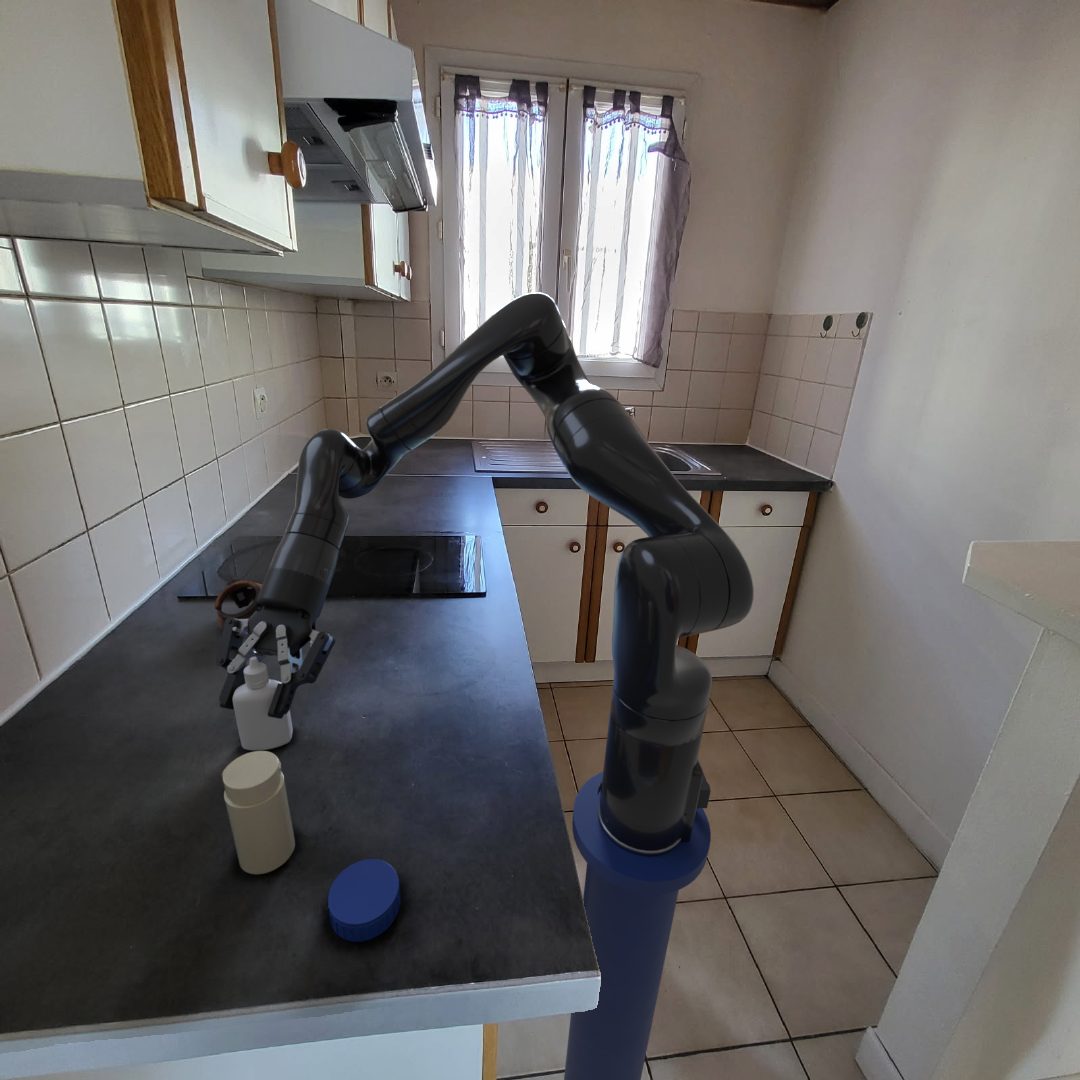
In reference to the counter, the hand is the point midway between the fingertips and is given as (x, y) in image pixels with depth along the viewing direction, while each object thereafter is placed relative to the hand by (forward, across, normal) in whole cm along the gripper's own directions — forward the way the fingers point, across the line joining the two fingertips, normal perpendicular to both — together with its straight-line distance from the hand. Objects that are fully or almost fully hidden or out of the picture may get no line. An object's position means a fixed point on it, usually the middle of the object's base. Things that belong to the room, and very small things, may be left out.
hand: (250, 712), depth 64 cm
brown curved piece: (-14, +21, -22) cm, 34 cm away
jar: (+12, -10, +4) cm, 16 cm away
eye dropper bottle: (+3, 0, -5) cm, 6 cm away
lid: (+13, -22, +7) cm, 26 cm away
